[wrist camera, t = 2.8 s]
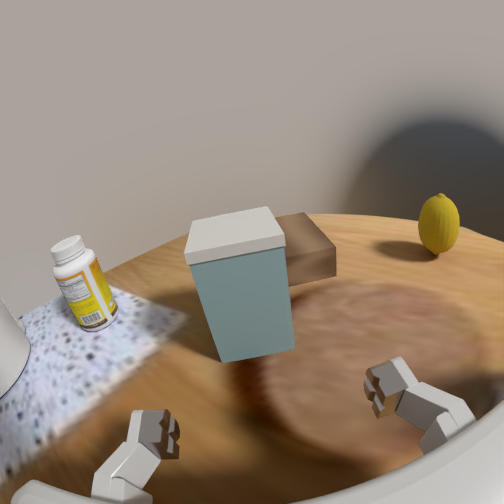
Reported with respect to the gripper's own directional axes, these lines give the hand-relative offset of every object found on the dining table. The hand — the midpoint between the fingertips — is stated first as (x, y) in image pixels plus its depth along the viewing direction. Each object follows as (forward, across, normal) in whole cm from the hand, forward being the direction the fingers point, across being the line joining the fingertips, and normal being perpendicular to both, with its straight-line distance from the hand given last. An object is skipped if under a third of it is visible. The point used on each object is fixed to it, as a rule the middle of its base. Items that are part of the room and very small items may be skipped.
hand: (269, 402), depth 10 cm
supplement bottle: (+18, +18, +7) cm, 27 cm away
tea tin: (+12, 0, +7) cm, 14 cm away
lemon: (+17, -24, +8) cm, 30 cm away
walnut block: (+24, -4, +8) cm, 26 cm away
